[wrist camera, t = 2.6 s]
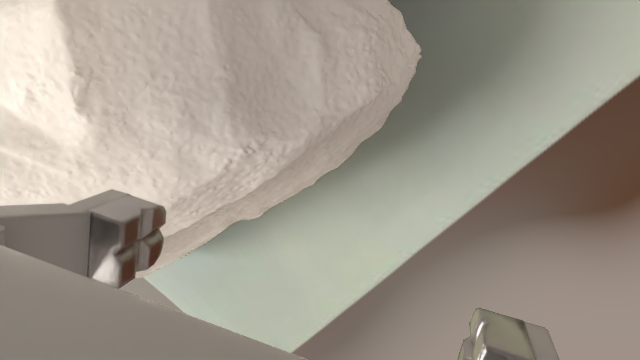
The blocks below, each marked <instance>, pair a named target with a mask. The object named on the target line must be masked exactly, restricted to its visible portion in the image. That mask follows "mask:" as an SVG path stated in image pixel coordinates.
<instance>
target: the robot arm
mask: <svg viewBox="0 0 640 360" xmlns="http://www.w3.org/2000/svg"><path fill="white" fill-rule="evenodd" d="M165 223H166V210H165V208H164V206H162V205H159V204H156V203H153V202H150V201H147V200H144V199H141V198H138V197H135V196H132V195H130V194H128V193H124V192H121V191H117V190H113V189H111V190H108V191H105V192H103V193H100V194H97V195H94V196H91V197H89V198H86V199H83V200H80V201H78V202H75V203H72V204H69V205H67V204H64V203H56V204H31V205H6V206H0V360H307V359H305V358H302V357H299V356H297V355H294V354H291V353H289V352H286V351H283V350H281V349H278V348H275V347H272V346H270V345H267V344H264V343H262V342H259V341H256V340H254V339H251V338H248V337H246V336H243V335H240V334H238V333H235V332H232V331H230V330H227V329H224V328H222V327H219V326H216V325H214V324H211V323H208V322H206V321H203V320H200V319H198V318H195V317H192V316H190V315H187V314H184V313H182V312H179V311H176V310H174V309H171V308H168V307H165V306H163V305H160V304H157V303H155V302H152V301H149V300H147V299H144V298H141V297H139V296H136V295H133V294H131V293H128V292H125V291H122V290H120V289H119V288H121V287H122V286H124V285H125V284H126V283H128V282H129V281H131V280H133V279H134V278H135V274H136V272H138V271H144V270H147V269H149V268H150V267H151V266H153V265H154V264H155V262H156V261H157V259H158V258H159V256H160V254H161V251H162V248H163V242H164V238H163V235H162V233H161V231H160V228H161V227H162V226H163V225H164V224H165ZM469 324H470V336H469V337H468V338H466V339H464V340H463V343H462V346H461V349H460V352H459V356H458V360H559V357H558V355H557V352H556V349H555V347H554V344H553V342H552V339H551V337H550V334H549V332H548V330H547V329H546V328H544V327H541V326H538V325H534V324H530V323H527V322H524V321H522V320H519V319H516V318H512V317H509V316H505V315H502V314H499V313H495V312H492V311H489V310H485V309H482V308H476V309H475V311H474V313H473V315H472V318H471V321H470V323H469Z"/></svg>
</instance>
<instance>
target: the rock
mask: <svg viewBox="0 0 640 360" xmlns="http://www.w3.org/2000/svg"><path fill="white" fill-rule="evenodd" d="M420 52H421V48H420V46H419V45H418V43H416V42H415V39H414V38H413V36H412V35H411V33H410V32H409V31H408V30H407V29H406V25H405V23H404V20H403V15H402V14H401V11H398V10H397V9H396V8H395V7H393V6H392V5H391V3H390V2H389V1H388V0H0V206H6V205H31V204H56V203H64V204H67V205H69V204H72V203H75V202H78V201H80V200H83V199H86V198H89V197H91V196H94V195H97V194H100V193H103V192H105V191H108V190H111V189H113V190H117V191H121V192H124V193H128V194H130V195H132V196H135V197H138V198H141V199H144V200H147V201H150V202H153V203H156V204H159V205H162V206H164V208H165V210H166V223H165V224H164V225H163V226H162V227H161V228H160V231H161V233H162V235H163V238H164V242H163V248H162V251H161V254H160V256H159V258H158V259H157V261H156V262H155V264H154V265H153V266H151V267H150V268H149V269H147V270H144V271H138V272H136V274H135V277H136V278H142V277H144V276H145V275H148V274H149V273H150V272H151V271H153V270H158V269H160V268H161V267H162V266H165V265H167V264H170V263H172V262H173V261H175V260H176V259H178V258H182V256H187V255H186V254H190V252H191V251H193V249H195V248H197V247H199V246H200V245H204V244H205V243H207V242H209V240H210V239H212V238H213V237H215V236H216V235H218V234H219V233H221V232H222V231H223V230H225V229H226V228H227V227H228V226H229V225H231V224H233V223H235V222H237V221H238V220H243V219H246V220H252V219H253V218H258V217H260V216H262V215H263V214H264V212H265V211H267V210H269V209H270V208H271V207H272V206H275V205H277V204H280V203H281V202H282V201H285V200H286V199H287V198H289V197H291V196H294V195H297V194H298V193H299V192H300V190H302V189H304V188H305V187H309V186H311V185H313V184H315V183H316V180H317V179H319V178H320V177H321V176H322V175H323V174H325V173H327V172H329V171H332V170H333V169H335V168H337V167H339V166H340V165H341V164H342V163H343V162H344V161H345V160H346V159H348V158H349V157H350V156H351V154H352V153H353V152H354V151H355V150H356V148H357V147H358V145H360V144H361V142H363V141H364V140H366V139H368V138H370V137H371V136H372V135H373V133H375V132H377V131H379V130H380V129H381V127H383V124H384V122H385V120H387V118H388V115H389V113H390V112H391V110H392V109H393V108H394V107H395V106H396V105H398V104H399V103H400V102H401V101H402V96H403V94H404V93H405V91H406V90H407V88H408V85H409V81H410V80H411V79H412V78H413V76H414V74H415V73H416V69H415V67H416V66H417V62H418V60H419V59H420V58H421V57H422V56H421V55H420V54H419V53H420Z"/></svg>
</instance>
